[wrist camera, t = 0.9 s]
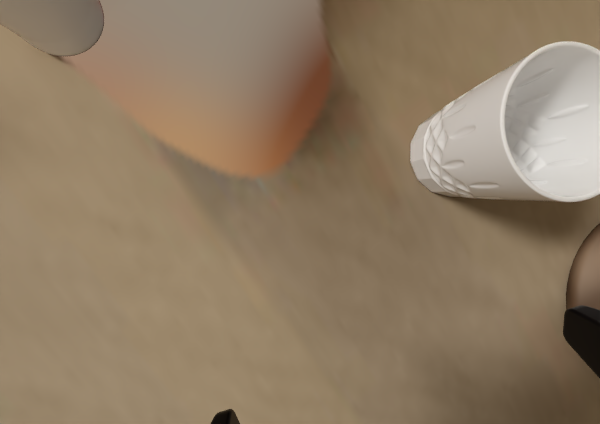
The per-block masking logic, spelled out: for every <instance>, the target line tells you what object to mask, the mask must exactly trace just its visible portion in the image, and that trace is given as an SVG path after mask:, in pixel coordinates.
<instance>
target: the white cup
mask: <svg viewBox="0 0 600 424" xmlns="http://www.w3.org/2000/svg"><path fill="white" fill-rule="evenodd" d="M410 163H411V165H412V167H413V170H414V172H415V174H416V177H417V179H418V180H419V181H420V182H421V183H422V184H423V185H424V186H425V187H427V188H428V189H429V190H430V191H431V192H434V193H438V194H441V195H445V196H452V197H467V198H477V199H494V200H526V201H553V202H578V201H583V200H587V199H590V198H593V197H595V196H597V195H599V194H600V50H598V49H596V48H594V47H592V46H590V45H587V44H583V43H579V42H571V41H565V42H557V43H552V44H549V45H546V46H544V47H542V48H540V49H538V50H536V51H534V52H533V53H531V54H529V55H528V56H526V57H524V58H523V59H521V60H520V61H518V62H516V63H515V64H513V65H511V66H510V67H508V68H506V69H504V70H503V71H501V72H499V73H498V74H496V75H494V76H493V77H491V78H489V79H488V80H486V81H484V82H483V83H481V84H479V85H478V86H476V87H474V88H473V89H472V90H470V91H468V92H467V93H465V94H464V95H462V96H460V97H459V98H457V99H456V100H454V101H453V102H451V103H449V104H448V105H446V106H445V107H444V108H443V109H442V110H440V111H438V112H437V113H435V114H433V115H432V116H431V117H429V118H428V119H427V120H426V121H424V122H423V123H422V124H421V125H419V127H418V129H417V131H416V133H415V135H414V137H413V139H412V141H411V151H410Z"/></svg>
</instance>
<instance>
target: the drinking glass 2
mask: <svg viewBox="0 0 600 424" xmlns="http://www.w3.org/2000/svg"><path fill="white" fill-rule="evenodd" d="M0 24H1V25H2V26H4V27H6V28H7V29H9V30H10V31H12V32H14V33H15V34H17V35H18V36H19V37H21V38H22V39H24V40H25V41H26V42H28V43H29V44H31V45H32V46H34V47H35V48H37V49H39V50H41V51H43V52H46V53H48V54H52V55H56V56H72V55H77V54H80V53H83V52H85V51H87V50H88V49H90V48H91V47H92V46H93V45H94V44H95V43H96V42H97V41H98V39H99V37H100V35H101V33H102V30H103V26H104V14H103V10H102V6H101V4H100V1H99V0H0Z"/></svg>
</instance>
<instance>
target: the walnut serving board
mask: <svg viewBox="0 0 600 424" xmlns="http://www.w3.org/2000/svg"><path fill="white" fill-rule="evenodd" d="M580 305H584V306H588V307H592V308H595V309H598V310H600V224H598V225H597V226H596V227H595V228H594V229H593V230H592V231H591V233H590V234H589V235H588V236H587V238H586V239H585V240H584V242H583V243H582V245H581V247H580V248H579V250H578V252H577V254H576V256H575V259H574V261H573V264H572V267H571V270H570V274H569V278H568V283H567V292H566V308H567V309H569V308H572V307H576V306H580Z"/></svg>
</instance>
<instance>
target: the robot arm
mask: <svg viewBox="0 0 600 424" xmlns="http://www.w3.org/2000/svg"><path fill="white" fill-rule="evenodd" d="M563 335H564V337H565V339H566V341H567V342H568V343H569V345H570V346H571V347H572V348H573V349H574V350H575V351H576V352H577V353H578V355H579V356H580V357H581V358H582V359H583V360H584V361H585V362H586V364H587V365H588V366H589V367H590V368H591V369H592V370H593V371H594V372H595V374H596V375H597V376H598V377H599V378H600V310H598V309H595V308H592V307H588V306H584V305H580V306H576V307H572V308H569V309H567V310H566V311H565V315H564V326H563ZM211 424H240V423H239V421H238V418H237V416H236V414H235V412H234V411H233V410H232V409H228V410H225V411H222V412H219V413H217V414H216V415H215V417H214V418H213V420H212V422H211Z"/></svg>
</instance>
